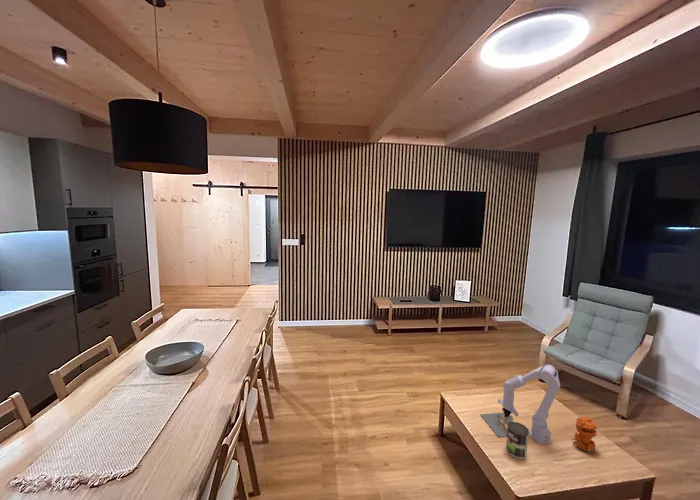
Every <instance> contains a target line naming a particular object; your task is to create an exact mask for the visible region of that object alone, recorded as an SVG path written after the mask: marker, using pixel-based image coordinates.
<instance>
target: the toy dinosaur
mask: <svg viewBox="0 0 700 500" xmlns="http://www.w3.org/2000/svg"><path fill="white" fill-rule="evenodd" d="M593 420H594V419H593V418H591V419H590V418H589V417H588V416H587V417H586V416H585V417H579V416H578V418H576V421H575V428H576V431H577V432H575V433H574V437H572V441H573V440H574V441H575V442H576V447H578V448H580V450H584V451H586V452H590V451H591V452H593V451H594V450H593V449H595V450H596V443H595V441H594V440H592V439H593V438H594V437H596V436H597V434H598V433H597V431H596V430H598V426H597V424H596V423H595V422H594V421H593Z"/></svg>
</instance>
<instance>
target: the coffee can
mask: <svg viewBox="0 0 700 500" xmlns="http://www.w3.org/2000/svg"><path fill="white" fill-rule="evenodd" d="M529 432H530V430H529V428H528V427H527V426H525V425H524V424H522V423H520V422H517V421H513V422H510V423H508V431H507V437H506V446H505V449H506V452H507V453H508V454H509V455H511V456H512V457H513V458H516V459H521V460H522V459H526V458H527V456H528V443H529V435H530V434H529Z"/></svg>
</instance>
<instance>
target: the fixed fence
mask: <svg viewBox="0 0 700 500" xmlns="http://www.w3.org/2000/svg"><path fill="white" fill-rule="evenodd" d="M499 425H500V426H501V427H502V428H503V430H504V431H505V432H506V433H507V431H508V426H507V425H506V424H505V423H504V422H503V420H502V417H499Z"/></svg>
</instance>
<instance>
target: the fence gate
mask: <svg viewBox="0 0 700 500" xmlns="http://www.w3.org/2000/svg"><path fill="white" fill-rule="evenodd" d="M502 420H503V422H504V423H505V424H506V423H510V422H514V416H513V415H512V414H510V416H508V417H504V418H502Z"/></svg>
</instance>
